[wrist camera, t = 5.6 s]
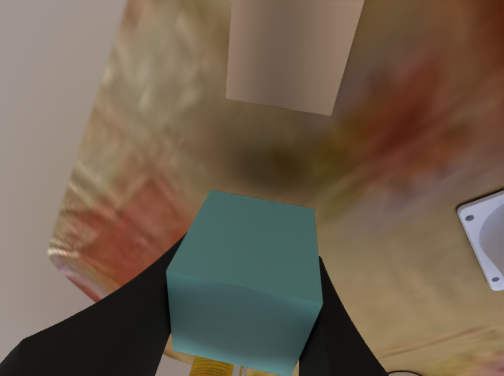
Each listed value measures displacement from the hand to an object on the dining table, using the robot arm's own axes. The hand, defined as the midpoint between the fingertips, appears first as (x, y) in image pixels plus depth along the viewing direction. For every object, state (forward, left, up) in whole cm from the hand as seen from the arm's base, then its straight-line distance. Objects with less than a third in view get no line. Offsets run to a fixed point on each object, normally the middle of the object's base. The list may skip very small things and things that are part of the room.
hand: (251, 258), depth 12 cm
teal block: (0, 0, -1) cm, 1 cm away
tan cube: (+7, -6, -8) cm, 12 cm away
